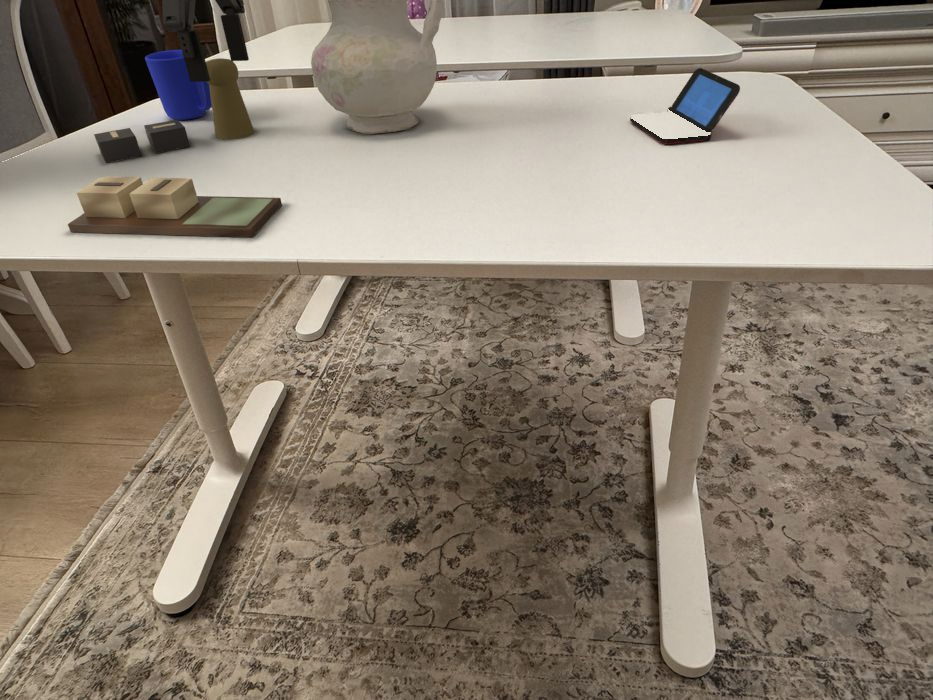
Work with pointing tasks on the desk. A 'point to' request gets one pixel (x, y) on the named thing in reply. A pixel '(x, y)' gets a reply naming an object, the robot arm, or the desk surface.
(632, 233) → the desk surface
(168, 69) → the mug
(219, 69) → the olive chess pawn
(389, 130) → the ceramic pitcher
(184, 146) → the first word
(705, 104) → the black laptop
